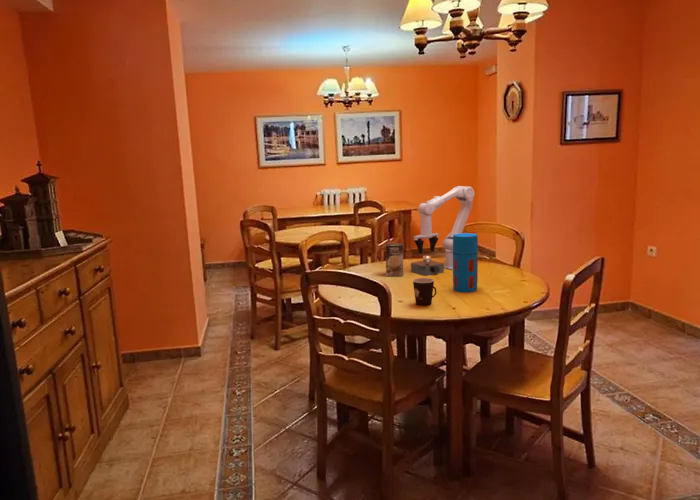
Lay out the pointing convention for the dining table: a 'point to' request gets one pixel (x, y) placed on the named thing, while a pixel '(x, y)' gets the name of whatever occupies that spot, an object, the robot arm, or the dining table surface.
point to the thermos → (465, 262)
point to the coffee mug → (423, 291)
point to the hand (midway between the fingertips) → (426, 252)
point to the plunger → (426, 259)
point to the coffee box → (394, 259)
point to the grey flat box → (427, 267)
